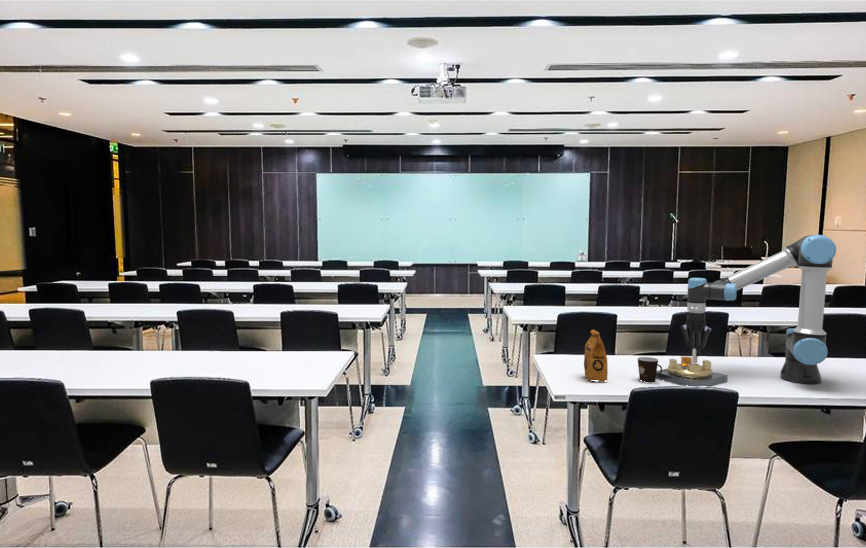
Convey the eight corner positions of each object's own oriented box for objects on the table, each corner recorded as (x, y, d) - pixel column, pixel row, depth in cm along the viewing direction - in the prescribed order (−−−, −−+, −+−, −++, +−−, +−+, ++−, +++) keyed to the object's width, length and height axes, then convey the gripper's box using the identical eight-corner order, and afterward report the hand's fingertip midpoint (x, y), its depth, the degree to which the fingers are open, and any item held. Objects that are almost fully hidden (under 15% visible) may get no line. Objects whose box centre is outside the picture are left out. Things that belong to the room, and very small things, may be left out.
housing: (727, 381, 238) (727, 374, 238) (698, 389, 227) (698, 382, 227) (681, 371, 257) (681, 364, 257) (652, 378, 245) (652, 371, 245)
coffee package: (586, 382, 239) (586, 333, 237) (582, 375, 251) (583, 329, 250) (609, 383, 237) (610, 334, 236) (604, 376, 250) (605, 329, 248)
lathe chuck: (720, 374, 239) (720, 361, 238) (696, 380, 229) (697, 367, 229) (683, 366, 254) (683, 354, 254) (659, 371, 245) (659, 359, 244)
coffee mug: (634, 378, 245) (634, 356, 244) (653, 378, 245) (653, 356, 244) (643, 385, 233) (644, 362, 233) (663, 385, 233) (664, 362, 233)
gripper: (678, 311, 246) (677, 362, 248) (709, 314, 238) (707, 366, 239) (683, 309, 252) (682, 359, 253) (714, 312, 243) (712, 363, 245)
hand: (694, 362), depth 246 cm, fingers closed
